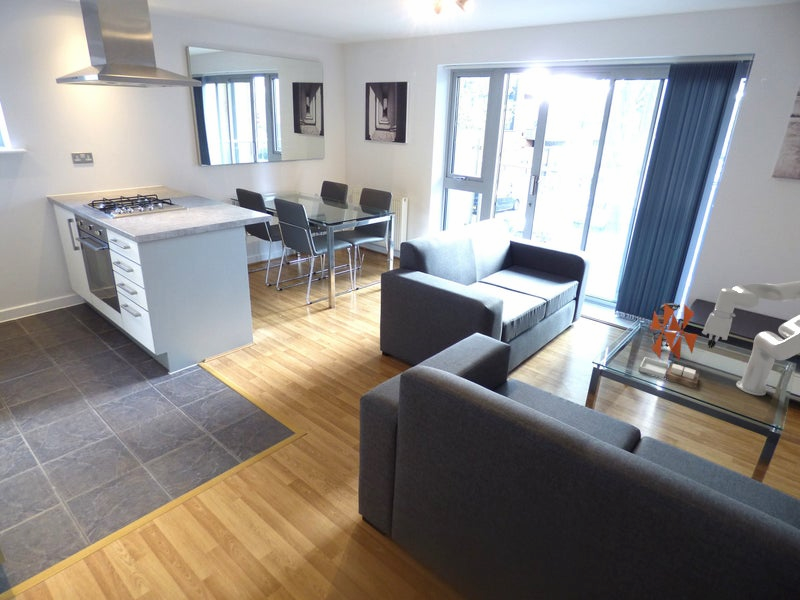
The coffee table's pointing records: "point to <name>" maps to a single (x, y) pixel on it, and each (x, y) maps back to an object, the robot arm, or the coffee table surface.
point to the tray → (653, 367)
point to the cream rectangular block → (689, 372)
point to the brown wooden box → (682, 378)
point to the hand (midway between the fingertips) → (710, 347)
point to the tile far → (677, 369)
